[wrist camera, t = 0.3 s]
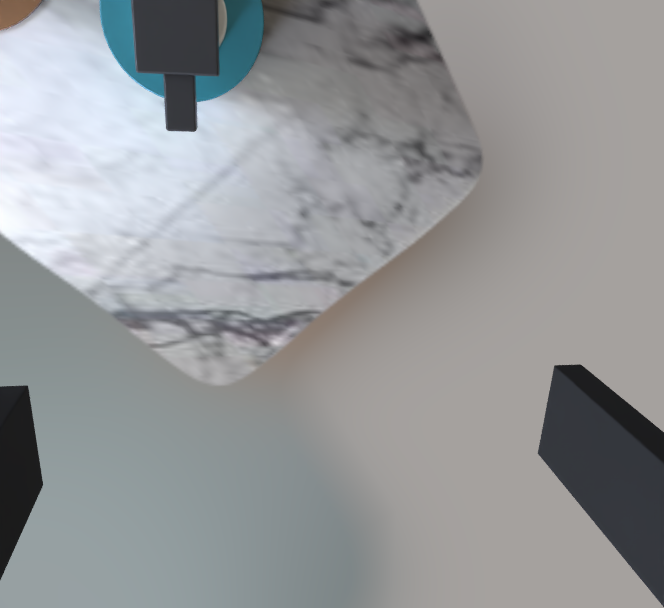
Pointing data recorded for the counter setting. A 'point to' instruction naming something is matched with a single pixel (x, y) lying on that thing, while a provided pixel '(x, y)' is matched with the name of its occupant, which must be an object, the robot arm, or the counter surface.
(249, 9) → the spray bottle
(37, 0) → the coaster
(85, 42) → the counter surface
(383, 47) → the counter surface
